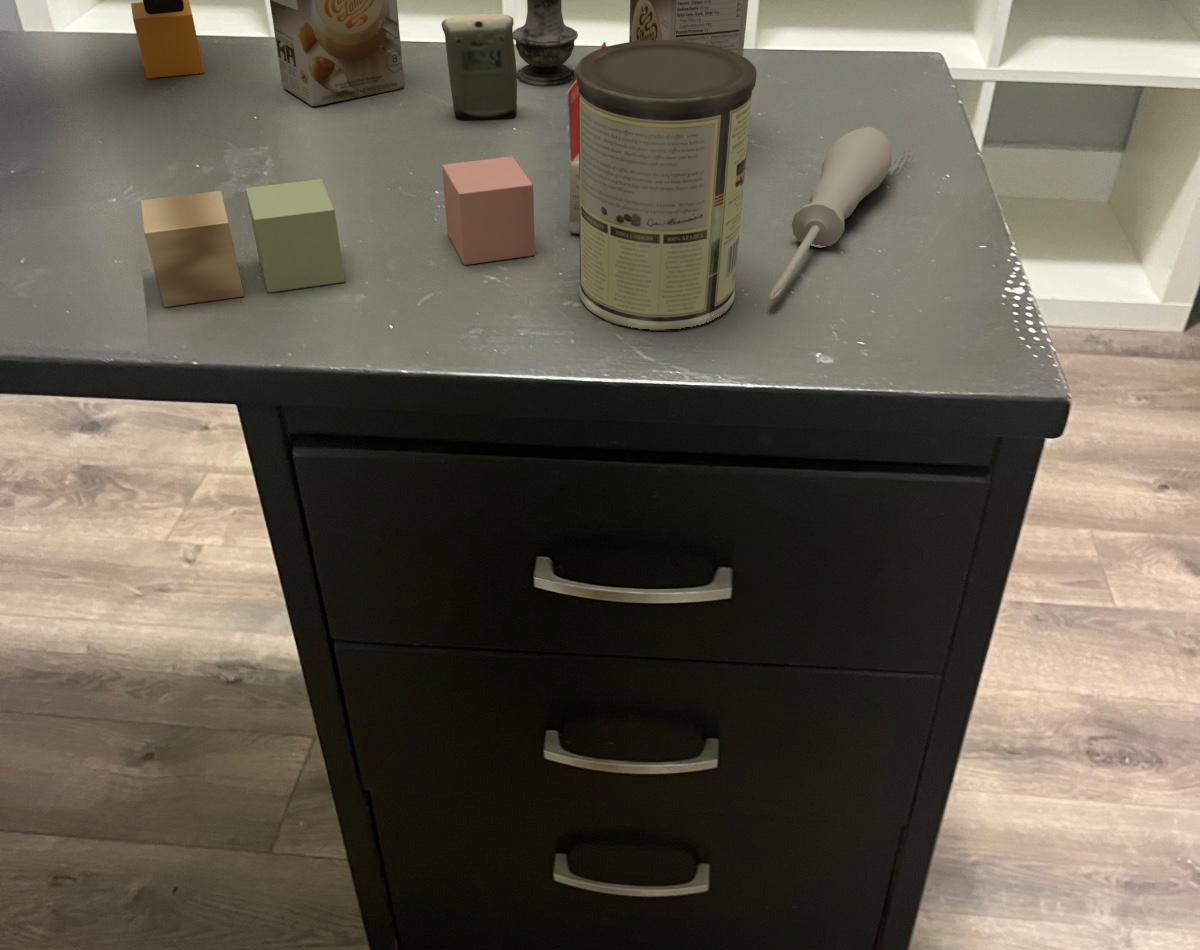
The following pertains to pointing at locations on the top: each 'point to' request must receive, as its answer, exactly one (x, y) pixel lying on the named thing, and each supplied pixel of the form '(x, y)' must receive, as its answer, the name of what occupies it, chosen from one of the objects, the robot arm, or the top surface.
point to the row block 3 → (489, 210)
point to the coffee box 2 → (690, 21)
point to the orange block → (167, 42)
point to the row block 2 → (295, 235)
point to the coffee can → (661, 180)
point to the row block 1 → (191, 248)
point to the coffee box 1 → (337, 48)
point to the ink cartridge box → (574, 156)
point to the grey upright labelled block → (481, 66)
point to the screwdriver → (838, 192)
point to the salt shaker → (545, 44)
